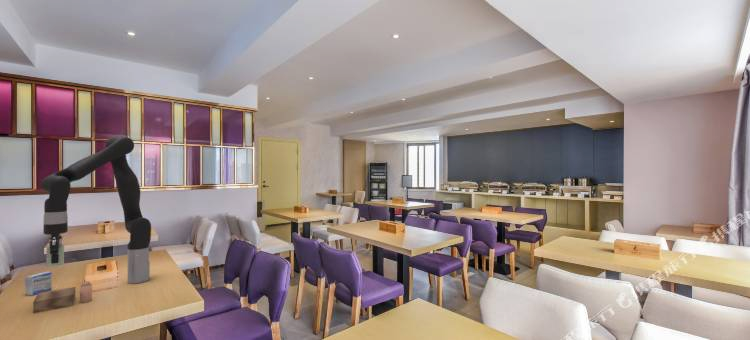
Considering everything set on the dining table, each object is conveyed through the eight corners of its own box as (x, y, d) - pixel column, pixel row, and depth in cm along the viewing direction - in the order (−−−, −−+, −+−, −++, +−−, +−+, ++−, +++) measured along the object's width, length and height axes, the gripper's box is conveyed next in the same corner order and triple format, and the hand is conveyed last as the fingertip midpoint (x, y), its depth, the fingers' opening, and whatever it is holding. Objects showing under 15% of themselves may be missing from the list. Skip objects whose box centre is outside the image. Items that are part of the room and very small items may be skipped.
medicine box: (32, 295, 153) (32, 277, 153) (24, 295, 154) (24, 276, 154) (51, 289, 161) (51, 271, 161) (44, 289, 162) (44, 271, 162)
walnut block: (75, 297, 151) (75, 286, 151) (73, 306, 142) (73, 294, 142) (38, 304, 144) (38, 293, 144) (33, 314, 134) (33, 301, 134)
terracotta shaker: (92, 298, 150) (92, 279, 150) (91, 301, 146) (91, 281, 146) (80, 300, 147) (80, 280, 147) (79, 303, 144) (79, 283, 144)
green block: (63, 262, 146) (64, 244, 146) (62, 265, 142) (62, 246, 142) (48, 264, 143) (48, 246, 143) (46, 267, 139) (46, 248, 139)
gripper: (66, 223, 140) (65, 263, 140) (69, 219, 151) (69, 256, 151) (40, 225, 135) (40, 267, 135) (45, 221, 146) (45, 259, 146)
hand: (55, 261), depth 143 cm, fingers closed on green block, 5 cm apart
